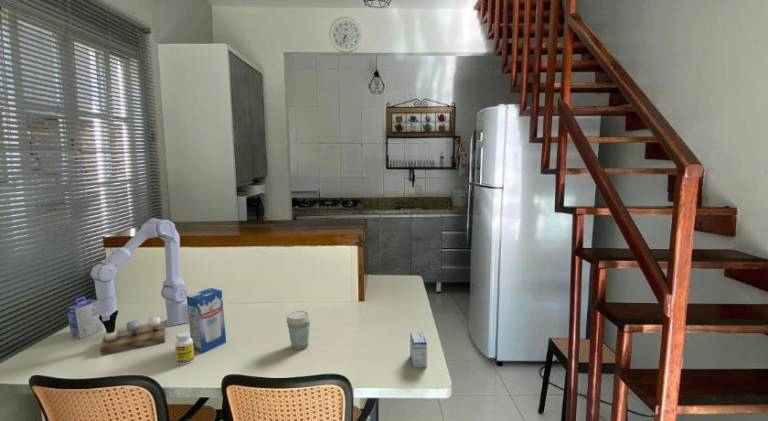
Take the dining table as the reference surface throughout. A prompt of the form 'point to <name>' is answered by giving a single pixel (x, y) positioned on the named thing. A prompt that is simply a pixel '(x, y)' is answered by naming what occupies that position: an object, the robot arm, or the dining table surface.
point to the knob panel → (134, 340)
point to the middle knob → (133, 326)
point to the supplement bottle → (184, 348)
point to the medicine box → (418, 349)
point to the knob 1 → (111, 336)
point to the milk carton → (206, 319)
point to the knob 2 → (154, 322)
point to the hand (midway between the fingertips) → (111, 332)
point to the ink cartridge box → (84, 318)
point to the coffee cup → (299, 329)
